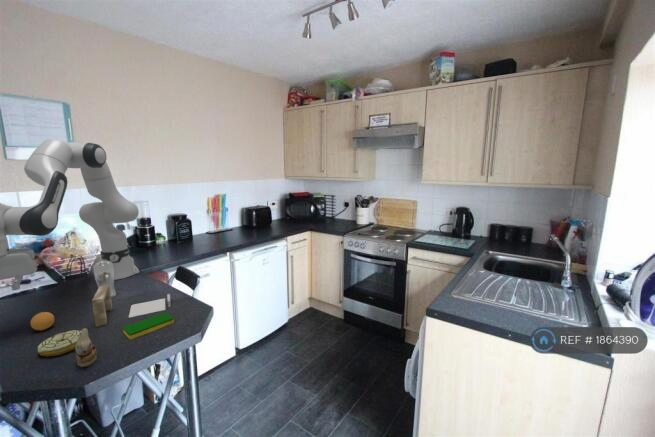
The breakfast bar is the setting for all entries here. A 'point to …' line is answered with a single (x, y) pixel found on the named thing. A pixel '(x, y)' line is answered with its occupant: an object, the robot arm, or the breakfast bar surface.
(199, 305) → the breakfast bar surface
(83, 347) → the chocolate bunny
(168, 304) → the stopper
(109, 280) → the beer glass
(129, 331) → the dish sponge
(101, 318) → the bridge
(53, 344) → the decorated donut
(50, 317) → the ball
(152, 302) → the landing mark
